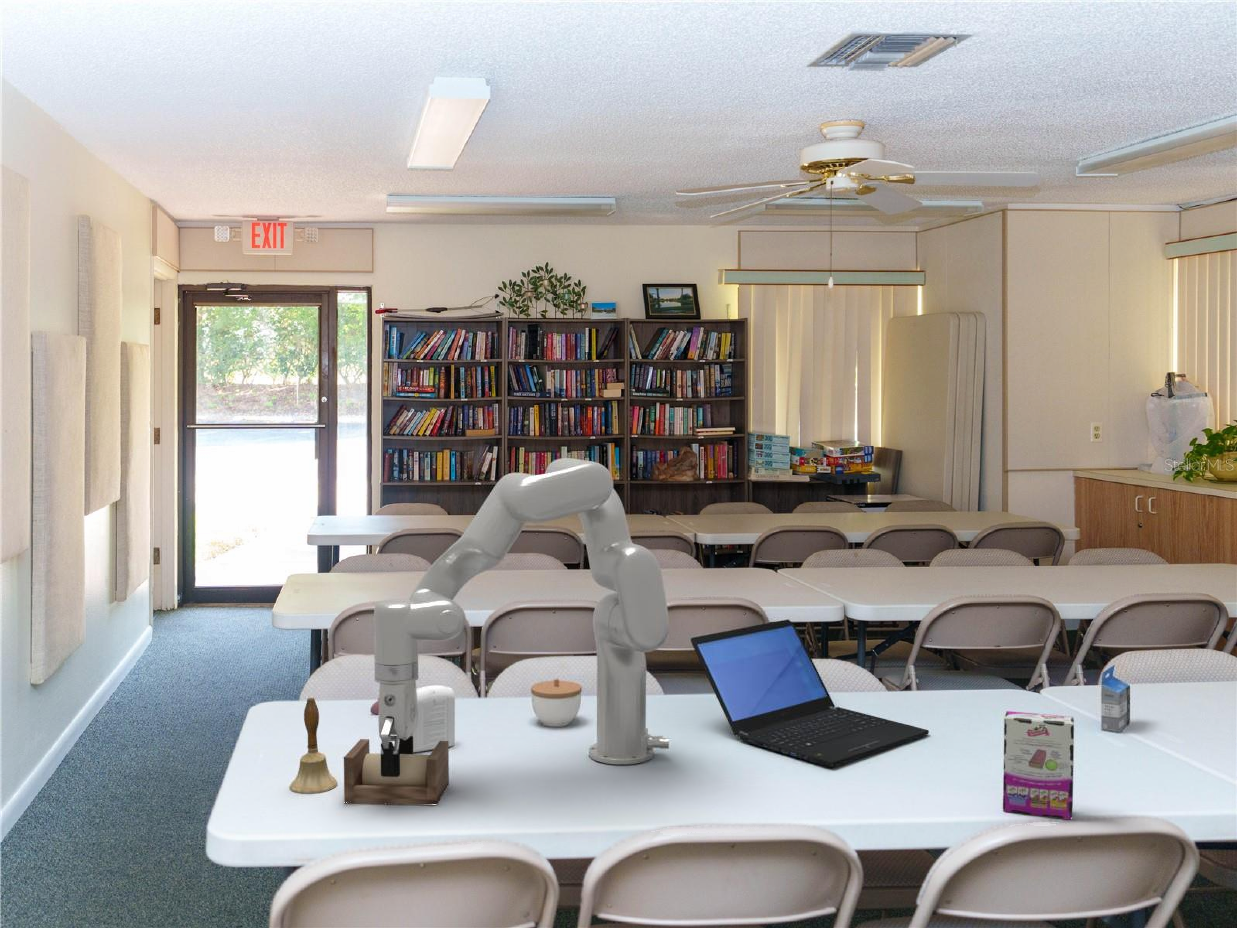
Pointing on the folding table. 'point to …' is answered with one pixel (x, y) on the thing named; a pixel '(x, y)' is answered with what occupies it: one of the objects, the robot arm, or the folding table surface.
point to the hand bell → (312, 759)
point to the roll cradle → (395, 794)
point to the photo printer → (434, 717)
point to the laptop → (788, 698)
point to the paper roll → (410, 771)
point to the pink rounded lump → (375, 708)
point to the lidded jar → (556, 702)
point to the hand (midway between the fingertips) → (397, 766)
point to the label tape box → (1114, 703)
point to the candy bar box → (1038, 764)
